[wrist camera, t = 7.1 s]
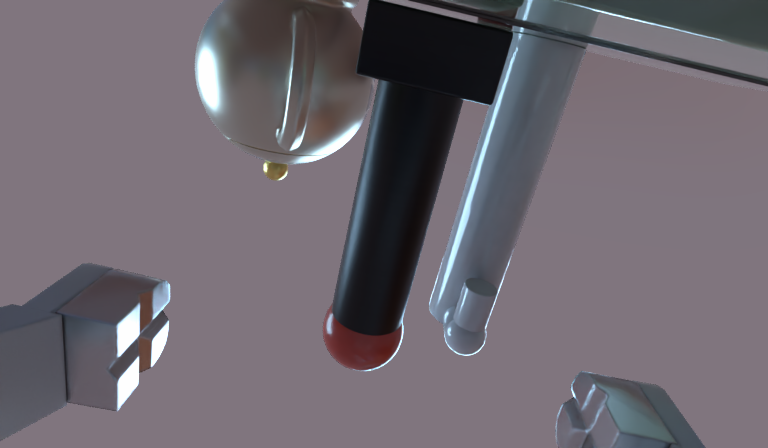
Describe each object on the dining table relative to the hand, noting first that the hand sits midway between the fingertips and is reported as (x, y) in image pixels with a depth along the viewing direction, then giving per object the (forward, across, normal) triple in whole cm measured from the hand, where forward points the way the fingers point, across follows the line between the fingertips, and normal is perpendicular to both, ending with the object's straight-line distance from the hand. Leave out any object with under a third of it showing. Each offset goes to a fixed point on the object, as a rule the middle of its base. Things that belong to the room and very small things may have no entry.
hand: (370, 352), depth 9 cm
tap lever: (+8, 0, -6) cm, 10 cm away
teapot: (+29, +9, -8) cm, 32 cm away
